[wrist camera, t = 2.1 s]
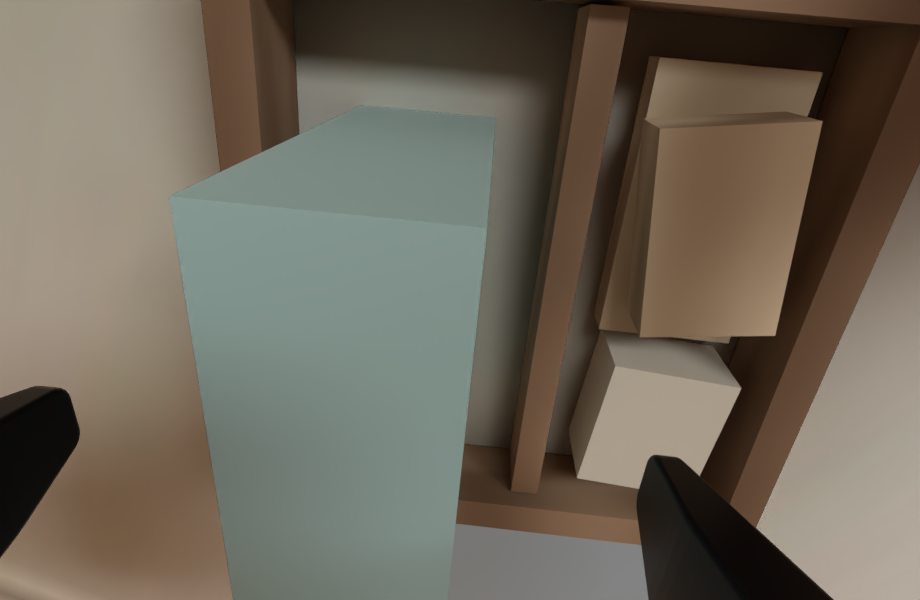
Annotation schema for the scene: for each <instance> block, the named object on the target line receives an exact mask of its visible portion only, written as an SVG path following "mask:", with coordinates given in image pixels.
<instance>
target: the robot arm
mask: <svg viewBox="0 0 920 600" xmlns="http://www.w3.org/2000/svg"><path fill="white" fill-rule="evenodd" d="M79 436H80V429H79V425H78V422H77V418H76V415H75V411H74V408H73V405H72V401H71V398H70V395H69V394H68V393H67V391H66V390H64V389H62V388H56V387H47V386H34V387H30V388H28V389H25V390H22V391H19V392H16V393H13V394H10V395H8V396H5V397H2V398H0V558H1V556H2V555H3V554H4V553H5V551H6V550H7V549H8V547H9V546H10V545H11V543H12V542H13V541H14V539H15V538H16V537H17V535H18V534H19V532H20V531H21V530H22V528H23V527H24V525H25V524H26V522H27V521H28V519H29V518H30V516H31V515H32V513H33V512H34V510H35V509H36V507H37V506H38V504H39V502H40V501H41V499H42V498H43V496H44V495H45V493H46V492H47V490H48V489H49V487H50V486H51V484H52V483H53V481H54V479H55V478H56V476H57V475H58V473H59V472H60V470H61V469H62V467H63V466H64V464H65V463H66V461H67V460H68V458H69V456H70V455H71V453H72V452H73V450H74V449H75V447H76V445H77V443H78V440H79ZM636 509H637V517H638V525H639V532H640V540H641V547H642V555H643V562H644V570H645V577H646V585H647V592H648V599H649V600H833V599H832V598H831V597H830V596H829V595H828V594H827V593H826V592H825V591H824V590H823V589H821V588H820V587H819V586H818V585H817V584H816V583H815V582H814V581H813V580H812V579H811V578H810V577H808V576H807V575H806V574H805V573H804V572H803V571H802V570H801V569H800V568H799V567H798V566H797V565H795V564H794V563H793V562H792V561H791V560H790V559H789V558H788V557H787V556H786V555H785V554H784V553H782V552H781V551H780V550H779V549H778V548H777V547H776V546H775V545H774V544H773V543H772V542H771V541H769V540H768V539H767V538H766V537H765V536H764V535H763V534H762V533H761V532H760V531H759V530H758V529H756V528H755V527H754V526H753V525H752V524H751V523H750V522H749V521H748V520H747V519H746V518H745V517H743V516H742V515H741V514H740V513H739V512H738V511H737V510H736V509H735V508H734V507H733V506H732V505H730V504H729V503H728V502H727V501H726V500H725V499H724V498H723V497H722V496H721V495H720V494H719V493H717V492H716V491H715V490H714V489H713V488H712V487H711V486H710V485H709V484H708V483H707V482H706V481H704V480H703V479H702V478H701V477H700V476H699V475H698V474H697V473H696V472H695V471H694V470H693V469H691V468H690V467H689V466H688V465H687V464H686V463H685V462H684V461H683V460H681V459H680V458H678V457H673V456H664V455H652V456H651V457H650V458H649V459H648V461H647V464H646V467H645V471H644V474H643V477H642V481H641V484H640V487H639V490H638V494H637V501H636Z"/></svg>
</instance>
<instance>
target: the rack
mask: <svg viewBox="0 0 920 600" xmlns="http://www.w3.org/2000/svg"><path fill="white" fill-rule="evenodd" d="M539 1H550V2H562V3H573V4H585V5H587V6H584V7H582V8H579V9H578V14H577V20H576V27H575V33H574V40H573V46H572V53H571V59H570V65H569V72H568V78H567V85H566V91H565V98H564V104H563V110H562V117H561V123H560V130H559V136H558V143H557V149H556V155H555V162H554V168H553V175H552V181H551V188H550V194H549V200H548V207H547V213H546V220H545V226H544V233H543V239H542V246H541V252H540V258H539V265H538V271H537V278H536V284H535V291H534V297H533V303H532V310H531V316H530V323H529V329H528V336H527V342H526V348H525V355H524V361H523V368H522V374H521V381H520V387H519V393H518V400H517V406H516V413H515V419H514V426H513V432H512V438H511V445H510V449H504V448H495V447H486V446H477V445H468V444H464V450H463V459H462V469H461V478H460V487H459V497H458V506H457V515H456V524H463V525H472V526H480V527H489V528H498V529H506V530H515V531H524V532H532V533H541V534H550V535H558V536H567V537H576V538H584V539H593V540H601V541H610V542H619V543H627V544H636V545H641V540H640V532H639V525H638V517H637V509H636V501H637V494H638V490H639V489H636V488H631V487H625V486H619V485H613V484H608V483H602V482H596V481H591V480H585V479H579V478H577V476H576V470H575V464H574V459H573V456H567V455H558V454H549V453H545V450H546V444H547V439H548V434H549V429H550V424H551V418H552V413H553V408H554V403H555V398H556V393H557V387H558V382H559V377H560V372H561V367H562V361H563V356H564V351H565V346H566V341H567V335H568V330H569V325H570V320H571V315H572V310H573V304H574V299H575V294H576V289H577V284H578V278H579V273H580V268H581V263H582V258H583V253H584V247H585V242H586V237H587V232H588V227H589V221H590V216H591V211H592V206H593V201H594V195H595V190H596V185H597V180H598V175H599V170H600V164H601V159H602V154H603V149H604V144H605V138H606V133H607V128H608V123H609V118H610V112H611V107H612V102H613V97H614V92H615V87H616V81H617V76H618V71H619V66H620V61H621V55H622V50H623V45H624V40H625V35H626V30H627V24H628V19H629V14H630V9H642V10H654V11H665V12H677V13H688V14H699V15H711V16H722V17H734V18H745V19H757V20H768V21H780V22H791V23H803V24H814V25H826V26H837V27H849V29H848V32H847V35H846V38H845V40H844V43H843V46H842V49H841V52H840V55H839V57H838V60H837V63H836V66H835V69H834V71H833V74H832V77H831V80H830V83H829V86H828V88H827V91H826V94H825V97H824V100H823V103H822V105H821V108H820V111H819V114H818V117H817V120H821V121H823V122H822V127H821V131H820V136H819V140H818V145H817V149H816V154H815V158H814V163H813V167H812V172H811V176H810V181H809V185H808V190H807V194H806V199H805V203H804V208H803V213H802V217H801V222H800V226H799V231H798V235H797V240H796V244H795V249H794V253H793V258H792V262H791V267H790V271H789V276H788V280H787V285H786V289H785V294H784V298H783V303H782V307H781V312H780V316H779V321H778V325H777V330H776V334H775V336H740V337H739V340H738V343H737V345H736V348H735V351H734V354H733V357H732V360H731V362H730V365H729V368H728V369H729V371H730V372H731V374H732V375H733V377H734V378H735V379H736V381H737V382H738V384H739V385H740V387H741V388H742V389H741V391H740V393H739V395H738V397H737V399H736V401H735V403H734V405H733V407H732V409H731V412H730V414H729V416H728V418H727V420H726V422H725V424H724V426H723V428H722V430H721V432H720V435H719V437H718V439H717V441H716V443H715V445H714V447H713V449H712V451H711V453H710V455H709V458H708V460H707V462H706V464H705V466H704V468H703V470H702V472H701V474H700V477H701V478H702V479H703V480H704V481H706V482H707V483H708V484H709V485H710V486H711V487H712V488H713V489H714V490H715V491H716V492H717V493H719V494H720V495H721V496H722V497H723V498H724V499H725V500H726V501H727V502H728V503H729V504H730V505H732V506H733V507H734V508H735V509H736V510H737V511H738V512H739V513H740V514H741V515H742V516H743V517H745V518H746V519H747V520H748V521H749V522H750V523H751V524H752V525H753V526H754V527H755V528H756V526H757V524H758V522H759V519H760V517H761V515H762V513H763V510H764V508H765V506H766V504H767V502H768V499H769V497H770V495H771V493H772V490H773V488H774V486H775V484H776V482H777V479H778V477H779V475H780V473H781V470H782V468H783V466H784V464H785V462H786V459H787V457H788V455H789V453H790V450H791V448H792V446H793V444H794V442H795V439H796V437H797V435H798V433H799V430H800V428H801V426H802V424H803V421H804V419H805V417H806V415H807V413H808V410H809V408H810V406H811V404H812V401H813V399H814V397H815V395H816V393H817V390H818V388H819V386H820V384H821V381H822V379H823V377H824V375H825V373H826V370H827V368H828V366H829V364H830V361H831V359H832V357H833V355H834V353H835V350H836V348H837V346H838V344H839V341H840V339H841V337H842V335H843V333H844V330H845V328H846V326H847V324H848V321H849V319H850V317H851V315H852V312H853V310H854V308H855V306H856V304H857V301H858V299H859V297H860V295H861V292H862V290H863V288H864V286H865V284H866V281H867V279H868V277H869V275H870V272H871V270H872V268H873V266H874V264H875V261H876V259H877V257H878V255H879V252H880V250H881V248H882V246H883V244H884V241H885V239H886V237H887V235H888V232H889V230H890V228H891V226H892V224H893V221H894V219H895V217H896V215H897V212H898V210H899V208H900V206H901V203H902V201H903V199H904V197H905V195H906V192H907V190H908V188H909V186H910V183H911V181H912V179H913V177H914V175H915V172H916V170H917V168H918V166H919V163H920V0H539ZM201 6H202V14H203V23H204V32H205V41H206V50H207V58H208V67H209V76H210V85H211V93H212V102H213V111H214V120H215V128H216V137H217V146H218V155H219V163H220V172H221V171H224V170H226V169H228V168H230V167H232V166H234V165H236V164H238V163H240V162H243V161H245V160H247V159H249V158H251V157H253V156H255V155H257V154H259V153H261V152H264V151H266V150H268V149H270V148H272V147H274V146H276V145H278V144H280V143H283V142H285V141H287V140H289V139H291V138H293V137H295V136H297V135H299V121H298V100H297V80H296V59H295V39H294V18H293V0H201Z"/></svg>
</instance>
